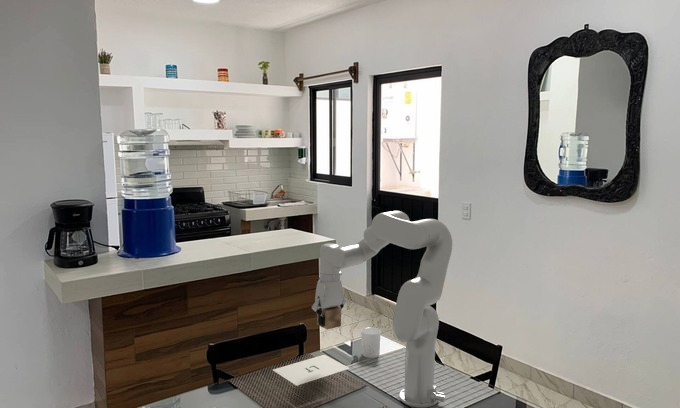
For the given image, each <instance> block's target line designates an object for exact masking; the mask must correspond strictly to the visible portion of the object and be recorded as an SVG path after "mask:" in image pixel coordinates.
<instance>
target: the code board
mask: <svg viewBox="0 0 680 408" xmlns="http://www.w3.org/2000/svg"><path fill="white" fill-rule="evenodd" d="M349 369H350V367H348V366H347V365H345V364H343V363H341V362H339V361H337V360H336V359H334V358H331V357H330V356H328V355H326V354H322V355H318V356H315V357H312V358H308V359H304V360H301V361H297V362H295V363H291V364H287V365H285V366H280V367H277V368H273V369H272V371H274V372H275V373H276V374H278V375H280V376H281V377H283V378H284V379H286V381H288V382H290V383H292V384H293V385H294V386H296V387H297V386H300V385H303V384H307V383H310V382H312V381H315V380H319V379H321V378H325V377H328V376H331V375H334V374H337V373H341V372H343V371H346V370H349Z"/></svg>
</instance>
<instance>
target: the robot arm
mask: <svg viewBox="0 0 680 408" xmlns="http://www.w3.org/2000/svg"><path fill="white" fill-rule="evenodd" d="M410 220H411V219H410V218H409V215H408V214H406V213H405V212H403V211H402V210H401V211H400V210H393V211H391V210H390V211H386V212H380V213H378V214H376V215H375V216H374V217H373V219H372V221H371V223H370V224H371V225H370V226H367V228H366V229H365V230H364V231H363V239H362V240H360V241H358V242H357V243H354V244H350V245H346V246H340V245H339V244H338V243H324V244H322V245H321V246H320V251H319V252H320V253H319V254H320V255H319V280H318V281H317V284H316V289H315V297H314V303H313V305H311V309H312V311H314V312H315V314H316V315H317V314H318V324H319V325H321V326H323V327H324V326H325V316H323V315H324V313H325V310H326V309H327V308H331V307H340V308H341V312H342V310H343V308H344V306H345V304H347V299H346V298H345V297H344V295H343V284H342V283H343V282H342V280H341V276H342V275H343V272H341V270H342V269H347V268H350V267H354V266H359V265H361V264H363V263H365V262H367V261H368V260H369V259H371V258H373V257H375V256H376V255H377V254H379V252H380V251H381V250H382V249H383V248H385V247H386V246H387V245H389V244H393V245H396V246H398V247H402V248H405V249H408V250H417V249H418V250H419V249H422V248H425V247H426V250H425V252H424V254H423V256H422V258H421V260H420V266H419V269H418V273H417V275H416V277H415V278H413V279H412V278H411V279H409V280H407V281H405V282H404V283H403V284H402V285H401V287H400V290H399V291H398V294H397V295H398V296H397V299H396V304H395V307H394V313H393V317H392V324H391V325H392V331H393V332H392V333H393V334H394V336H395V337H396V338H397V340H398V341H401V342H402V343H405V358H404V362H405V363H404V388H403V389H402V390H400V392H399V393H398V395H399V396H398V397H399V400H400V401H401V402H402V403H404V404H405V405H406V406H410V407H412V408H431V407H433V406H435V405H436V404H437V403H438V401H439V402H442V403H445V402H446V396H445V393H444V392H441V391H438V390H437V385H435V384H434V383H435V382H434V381H435V363H436V362H435V360H436V359H435V357H436V343H437V336H438V331H439V326H440V325H439V324H440V321H439V320H440V318H439V314H438V312H437V311H436V309H435V308H433V307H432V305H434V304H436V303H437V302H438V301H440V299H441V297H442V294H443V289H444V284H445V281H446V277H447V271H448V267H449V263H450V259H451V256H452V251H453V238H452V235H451V234H452V233H451V232H450V230H449V229H448V227H447V226H446V225H445V224H444V223H443V222H442V221H440V220H438V219H435V218H425V219H419V220H415V221H410ZM317 307H319V308H317ZM321 309H322V311H321ZM319 325H318V326H319ZM321 326H320V327H321ZM323 327H322V328H323Z"/></svg>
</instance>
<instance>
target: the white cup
mask: <svg viewBox="0 0 680 408" xmlns="http://www.w3.org/2000/svg"><path fill="white" fill-rule="evenodd" d="M381 332H382V330H381V329H380V328H378V327H371V326H370V327H369V326H368V327H362V328H361V330H360V337H361V338H360V344H361V355H362V357H364V358H367V359H373V358H375V359H376V358H377V357H379V354H380V345H381V337H382V333H381Z"/></svg>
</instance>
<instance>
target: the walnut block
mask: <svg viewBox="0 0 680 408" xmlns="http://www.w3.org/2000/svg"><path fill="white" fill-rule="evenodd" d="M317 308H319V306H317ZM341 310H342V309H341V308H340V307H331V308H327V309H326V310H325V313H324V315H323V316H325V326H324V327H323V326H321V325H319V324H318V314H317V313H316V316H317V317H316V325H317V326H319V327H321V328H323V329H325V330H332V329H334V328H335V329H336V328H339V327H341V326H342V311H341ZM321 311H322V309H321Z"/></svg>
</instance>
